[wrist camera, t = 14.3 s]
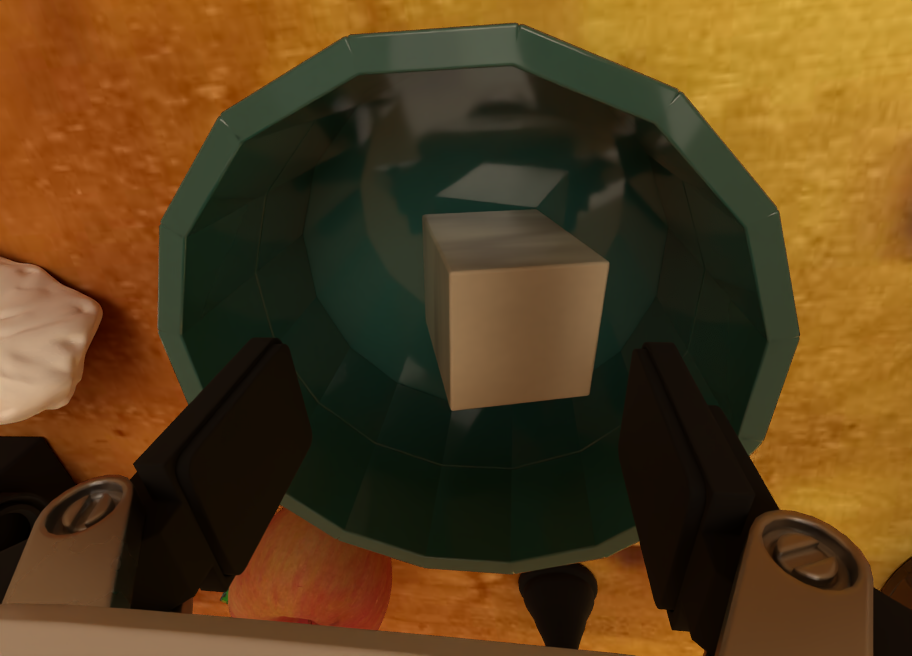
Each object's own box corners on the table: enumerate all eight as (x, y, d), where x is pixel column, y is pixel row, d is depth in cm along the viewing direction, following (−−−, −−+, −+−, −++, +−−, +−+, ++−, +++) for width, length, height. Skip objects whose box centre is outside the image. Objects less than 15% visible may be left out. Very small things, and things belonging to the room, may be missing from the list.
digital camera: (142, 556, 31) (51, 678, 25) (69, 553, 32) (-37, 670, 26) (63, 436, 26) (-75, 552, 20) (-22, 435, 27) (-180, 547, 21)
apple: (281, 446, 24) (188, 602, 17) (420, 484, 24) (381, 652, 18) (273, 533, 28) (194, 689, 21) (393, 565, 28) (353, 730, 21)
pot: (717, 24, 14) (923, -7, 7) (646, 411, 21) (711, 589, 14) (253, 56, 15) (40, 56, 8) (333, 402, 22) (251, 556, 16)
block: (537, 208, 16) (611, 261, 12) (529, 313, 18) (590, 396, 13) (421, 213, 16) (449, 272, 11) (425, 322, 18) (450, 412, 13)
